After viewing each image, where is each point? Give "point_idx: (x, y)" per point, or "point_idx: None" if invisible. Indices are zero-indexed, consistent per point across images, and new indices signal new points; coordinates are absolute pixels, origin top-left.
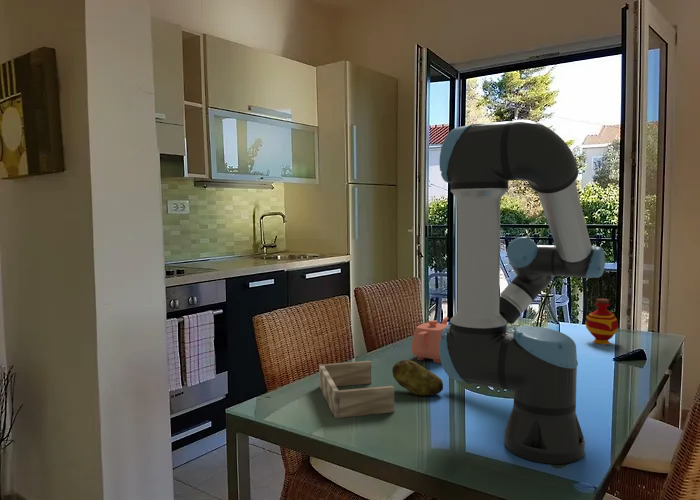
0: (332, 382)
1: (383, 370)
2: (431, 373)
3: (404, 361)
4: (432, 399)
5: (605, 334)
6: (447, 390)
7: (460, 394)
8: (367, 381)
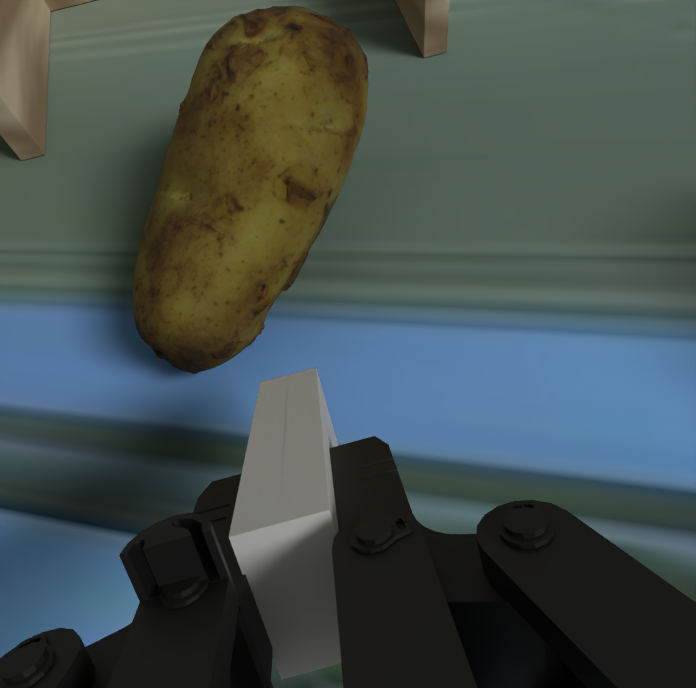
0: None
1: (678, 86)
2: (197, 242)
3: (248, 20)
4: None
5: None
6: None
7: None
8: (416, 33)
